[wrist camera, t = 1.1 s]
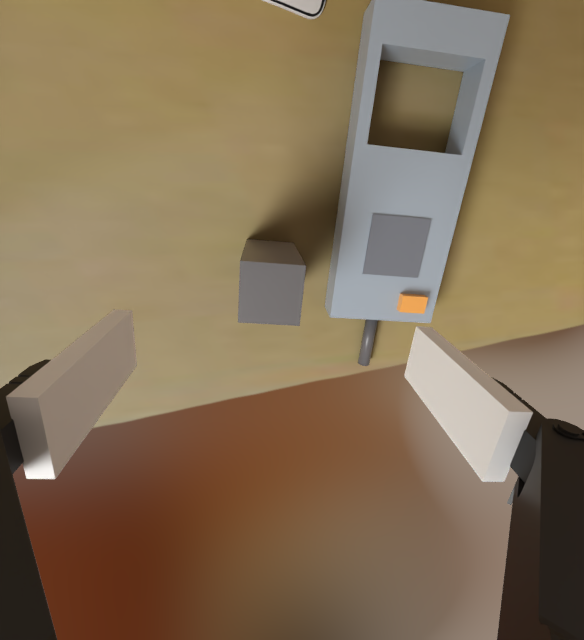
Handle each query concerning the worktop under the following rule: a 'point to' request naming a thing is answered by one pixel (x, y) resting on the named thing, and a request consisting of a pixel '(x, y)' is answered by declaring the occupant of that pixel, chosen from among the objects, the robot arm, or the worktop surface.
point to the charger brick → (271, 283)
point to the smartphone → (301, 7)
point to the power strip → (407, 166)
